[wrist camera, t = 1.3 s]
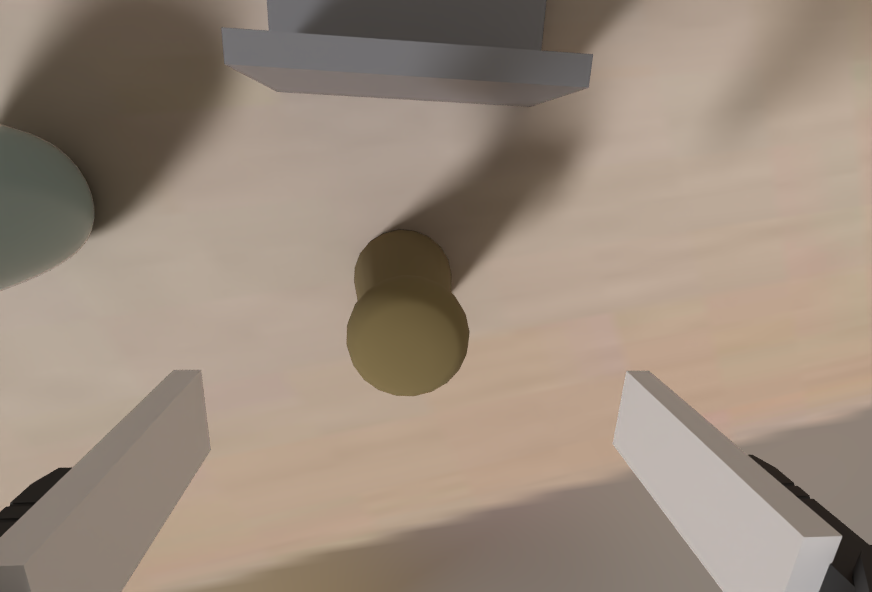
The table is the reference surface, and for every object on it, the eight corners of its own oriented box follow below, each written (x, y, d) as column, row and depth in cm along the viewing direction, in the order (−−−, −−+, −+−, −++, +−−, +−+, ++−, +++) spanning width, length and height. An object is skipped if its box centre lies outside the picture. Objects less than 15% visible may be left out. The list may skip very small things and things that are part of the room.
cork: (378, 337, 29) (370, 441, 19) (337, 252, 27) (303, 315, 17) (464, 301, 29) (506, 386, 18) (429, 214, 27) (453, 253, 17)
